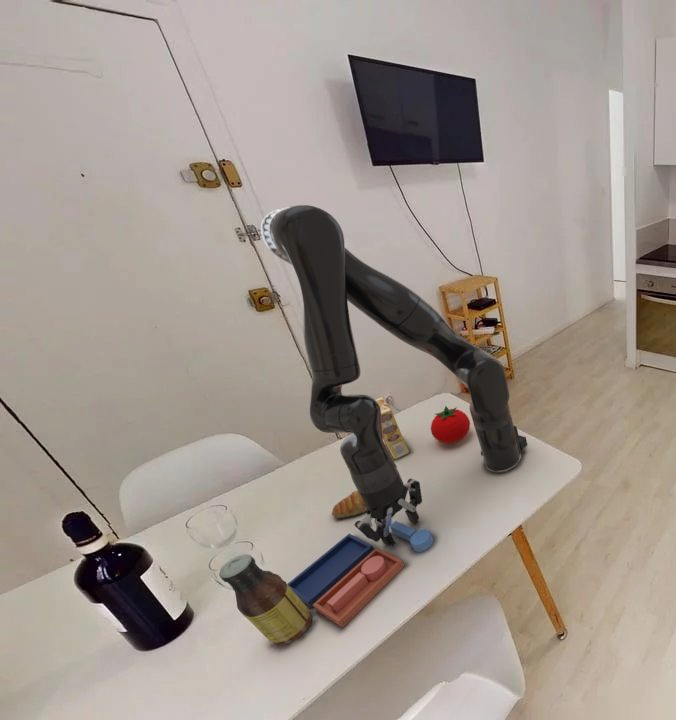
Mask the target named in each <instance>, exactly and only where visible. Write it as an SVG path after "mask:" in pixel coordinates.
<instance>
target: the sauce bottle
mask: <svg viewBox="0 0 676 720" xmlns="http://www.w3.org/2000/svg"><path fill="white" fill-rule="evenodd" d="M218 575H219V577H220V579H221V580H222V581H223V582H224V583H228V585H229V586H230V587H231V588H232V590H233V592H234V594H235V599H236V608H237V610H238V611H239V612H240V613H241V614H242V615H243V616H244V617H245V618H246V619H247V621H249V622H250V623H251V624H252V625H253V626H254V627H255V628H256V629H257V630H258V632H260V633H261V634H262V635H263V636H264V637H265V638H266V639H267V640H268V641H269V642H271V643H273V644H275V645H279V646H283V645H288V644H290V643H292V642H294V641H296V640H297V639H299V638H300V637H301V636H302V635H304V633H305V632H306V631H307V630H308V628H309V627H310V625H311V623H312V619H313V618H312V613H311V611H310V609H309V608H308V607H307V604H305V603H303V602H302V601H301V600H300V598H299V597H298V596H297V595H296V594H295V593H294V591H293V590H292V589H291V588H290V587H289V585H288V583H287V581H285V580H283V579H282V577H281V576H280V575H279V574H277V573H274V572H272V571H270V570H263V569H262V568H260V567H259V566H258V565H257V563H256V560H255V558H254V557H253V556H252V555H250V554H248V553H247V554H245V553H244V554H241V555H237V556H235V557H233V558H232V559H230V560H229V561H227V562H226V563H225V564H224V565H222V566H221V568H220V569H219V574H218Z"/></svg>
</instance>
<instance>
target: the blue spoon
mask: <svg viewBox="0 0 676 720" xmlns="http://www.w3.org/2000/svg"><path fill="white" fill-rule="evenodd" d="M389 529H390V531H391V532H392V535H395V536H397V537H399V538H401V539H404V540H405V541H408V542H409V543H410V545H411V547H412V550H413V551H414V552H417V553H421V552H425V551H426V550H429V548H430V547H431V546H432V545H433V542H434V538H433V536H432V534H431V532H430V530H429V529H427V528H422V529H418V530H416V529H415V528H412V527H410V526H408V525H407V524H404V523H402V522H400V521H397V520H394V521H393V522H391V525H390V526H389Z"/></svg>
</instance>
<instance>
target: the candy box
mask: <svg viewBox="0 0 676 720" xmlns="http://www.w3.org/2000/svg"><path fill="white" fill-rule="evenodd" d="M375 400H376V401H377V403H378V404H379V406H380V409H381V424H382V438H383V441H384V444H385V446H386V448H387V450H388V452H389V454H390V456H391V457H392V459H393V460H397V459H399V458H401V457H403V456H406V455H407V454H409V453H410V451H409V448H408V446H407V444H406V442H405V439H404V437H403V435H402V432H401V430H400V427H399V425H398V422H397V420H396V417H395V415H394V413H393V411H392V409H391V407H390V406H389V405H388V403H387V402H386V401H385V399H384V398H383V397H379V398H376V399H375Z"/></svg>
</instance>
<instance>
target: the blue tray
mask: <svg viewBox="0 0 676 720" xmlns="http://www.w3.org/2000/svg"><path fill="white" fill-rule="evenodd" d="M374 549H375V548H374V546H373V545H372V544H371V543H369V542H367V541H366V540H363V539H362V538H359V537H357V536H356V535H353V534H351V533H348V534H346V536H344V537H343V538H342V539H340V540H339V541H338V542H337V543H336V544H335V545H333V546H332V547H330V548H329V549H328V550H327V551H325V552H324V553H323V554H322V555H321V556H320V557H318V558H317V559H315V561H314V562H312V563H311V564H310V565H309V566H308V567H306V568H305V569H304V570H303V571H301V572H300V573H299V574H297V575H296V576H295V577H294V578H293V579H292V580H290V581H289V582H288V583H287V584H288V585H289V587H290V588H291V589H292V590H293V591H294V593H295V594H296V595H297V596H298V597H299V598H300V600H301V601H302V602H303V603H304V604H305V605H306V606H308V607H309V608H311V609H313V608H314V607H313V604H314V603H315V602H316V601H317V600H319V599H320V598H321V597H322V596H323V595H324V594H325V593H326V592H328V591H329V590H330V589H331V588H332V587H333V586H334V585H335V584H336V583H338V582H339V581H340V580H341V579H342V578H343V577H344V576H345V575H346V574H348V573H349V572H350V571H351V570H352V569H353V568H354V567H355V566H357V565H358V564H359V563H360V562H361V561H362V560H363V559H364V558H365V557H367V556H368V555H369V554H370V553H371V552H372V551H373V550H374Z"/></svg>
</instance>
